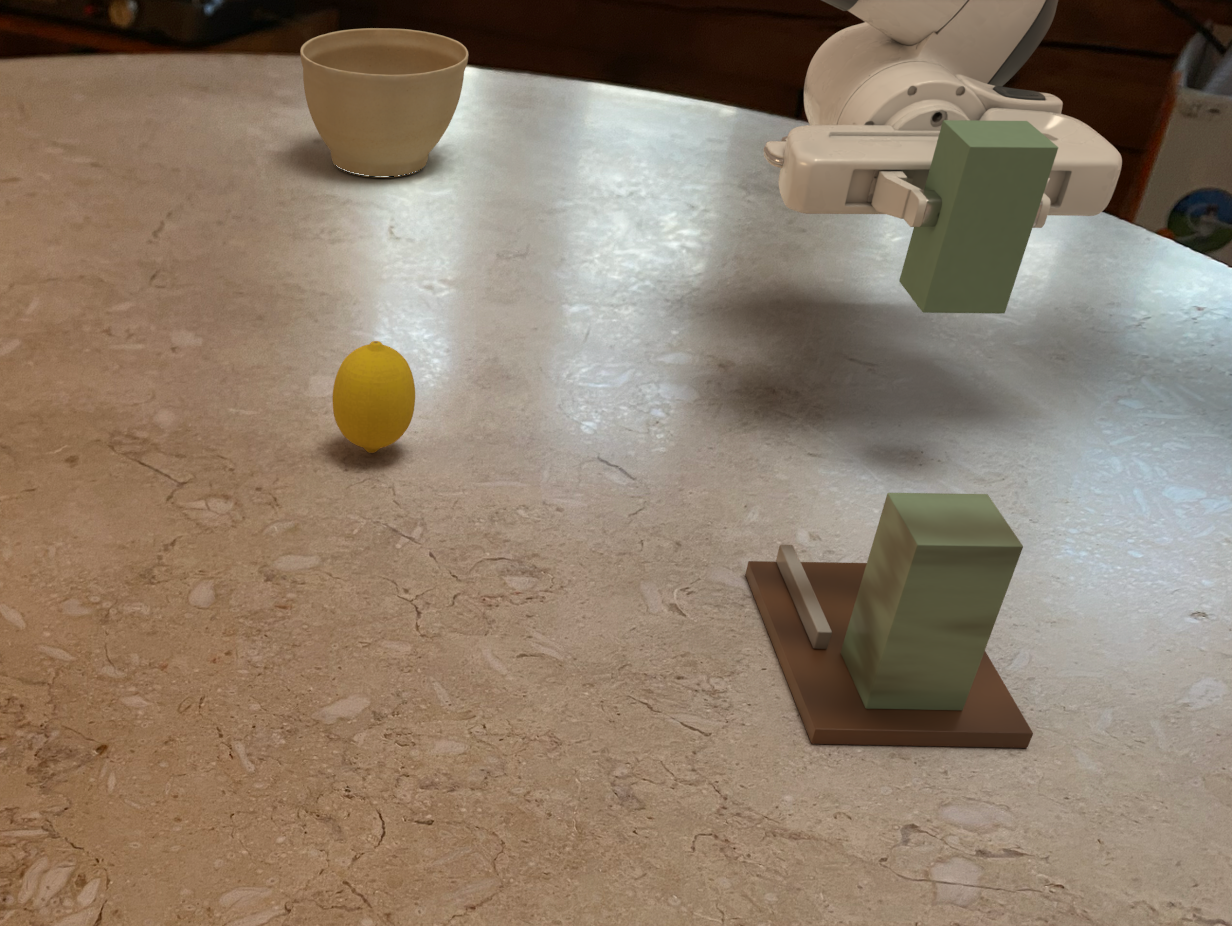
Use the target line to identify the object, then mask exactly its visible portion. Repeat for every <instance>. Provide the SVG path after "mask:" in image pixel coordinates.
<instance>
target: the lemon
mask: <svg viewBox="0 0 1232 926" xmlns="http://www.w3.org/2000/svg"><path fill="white" fill-rule="evenodd" d="M332 387H333V388H332V410H333V411H332V413H333V417H334V421H335V423H336V426H337V427H338V429H339V431H340V432H341V434H342V435H343V437H344V438H346V439H347V441H349V442H350V443H351V444H353V445H355V446H357V447H361V448H363V449H364V450H365V451H366V452H367V453H369V454H374V453H377V452H378V451H379V450H380V449H382V448H383V449H384V448H386V447H389V446H391V445H393V444H394V443H395V442H397V441H398V440H399V439H401V438H402V437H403V435H404V434H405V433H406V431H407V430H408V428H409V426H410V425H411V422H412V419H413V416H414V411H415V404H416V385H415V379H414V376H413V372H412V370H411V367H410V365H409V363H408V361H407V359H406V358H405V357H404V356H403V355H402V354H401V353H400V352H399V351H398V350H397V349H395V348H393V347H391V346H388V345H386V344H383V343H382V342H381V341H380V340H373V341H370V343H369V344H365V345H362V346H360V347H358V348H356V349H354V350H353V351H351V352H350V353H349V354H348V355H347V356H345V358H344V359H343V360H342V362H341V364H340V366H339V368H338V370H337V373H336V375H335V378H334V382H333V386H332Z"/></svg>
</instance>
